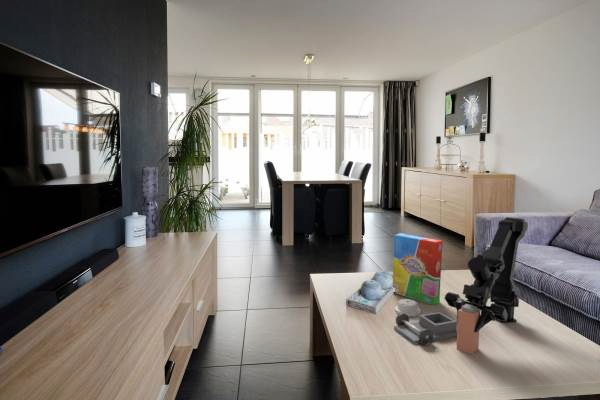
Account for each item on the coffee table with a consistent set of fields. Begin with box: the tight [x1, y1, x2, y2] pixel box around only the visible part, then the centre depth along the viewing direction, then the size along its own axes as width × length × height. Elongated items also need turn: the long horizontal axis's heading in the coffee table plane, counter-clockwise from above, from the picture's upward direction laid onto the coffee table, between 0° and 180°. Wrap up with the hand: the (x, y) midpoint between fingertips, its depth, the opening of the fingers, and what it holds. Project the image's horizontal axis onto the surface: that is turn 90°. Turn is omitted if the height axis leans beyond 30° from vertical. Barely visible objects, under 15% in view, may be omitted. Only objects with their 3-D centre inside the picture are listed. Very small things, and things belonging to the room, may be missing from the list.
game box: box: [392, 232, 444, 306], centre depth 171 cm, size 21×6×27 cm, turn 42°
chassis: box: [393, 311, 457, 345], centre depth 138 cm, size 22×15×5 cm
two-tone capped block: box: [456, 304, 481, 355], centre depth 126 cm, size 5×5×14 cm
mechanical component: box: [394, 298, 421, 318], centre depth 156 cm, size 10×4×10 cm
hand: (466, 329), depth 125 cm, fingers open, 5 cm apart
